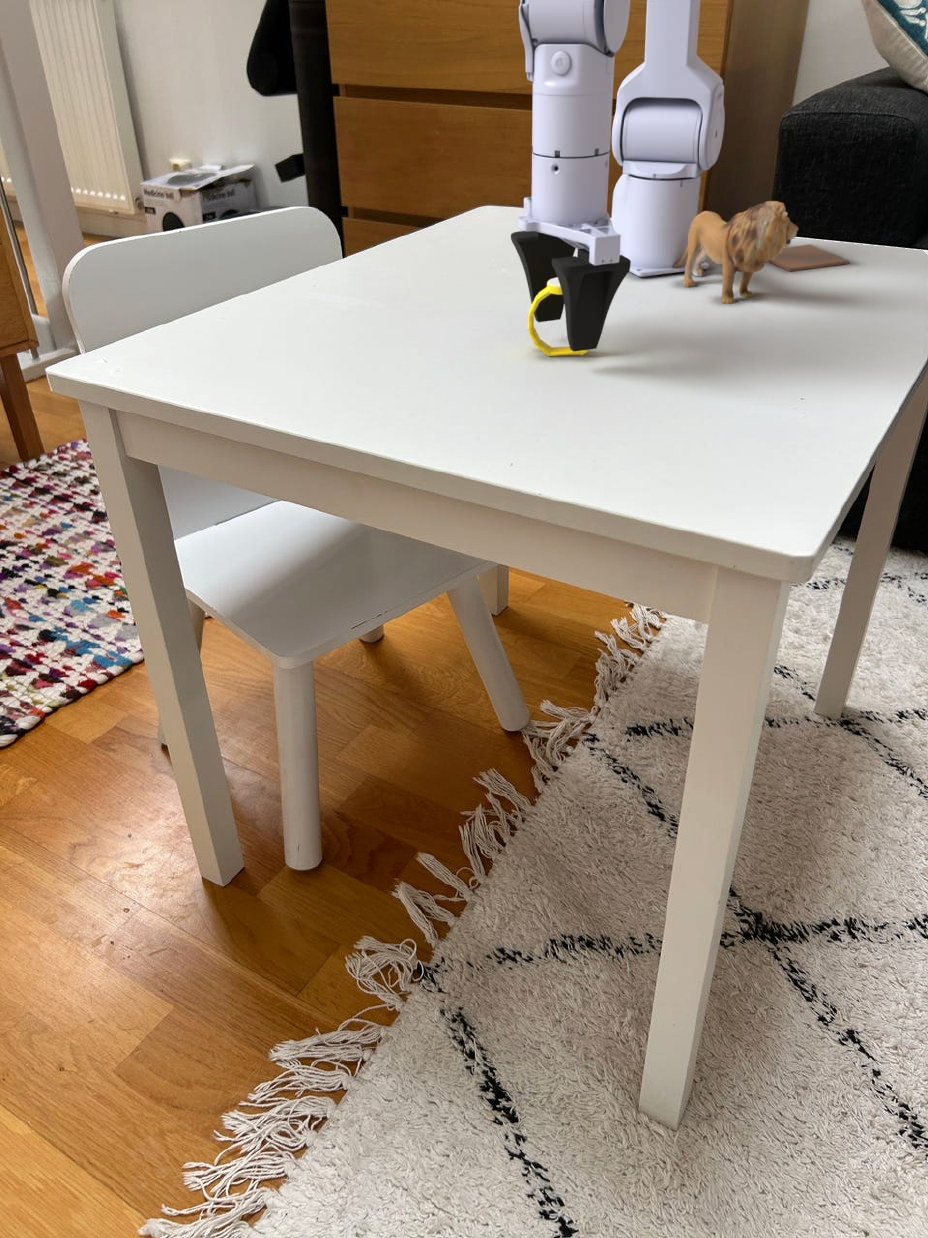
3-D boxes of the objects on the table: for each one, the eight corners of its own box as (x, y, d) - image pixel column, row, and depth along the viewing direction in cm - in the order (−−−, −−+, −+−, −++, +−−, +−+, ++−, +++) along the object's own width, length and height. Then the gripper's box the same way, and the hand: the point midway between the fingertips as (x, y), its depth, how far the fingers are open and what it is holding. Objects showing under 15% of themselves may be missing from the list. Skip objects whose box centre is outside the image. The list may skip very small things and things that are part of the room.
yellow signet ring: (601, 348, 80) (605, 275, 77) (600, 360, 78) (604, 285, 75) (529, 347, 81) (530, 275, 77) (527, 359, 79) (527, 285, 75)
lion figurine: (794, 305, 89) (812, 200, 83) (752, 315, 86) (767, 209, 81) (686, 269, 99) (696, 175, 94) (646, 278, 97) (654, 182, 92)
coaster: (752, 254, 102) (752, 251, 102) (809, 247, 104) (810, 244, 104) (789, 271, 97) (789, 268, 97) (849, 263, 98) (849, 260, 98)
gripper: (488, 140, 75) (490, 313, 83) (557, 173, 64) (552, 370, 72) (571, 133, 77) (565, 304, 85) (653, 164, 66) (638, 357, 73)
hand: (565, 333), depth 78 cm, fingers open, 7 cm apart
